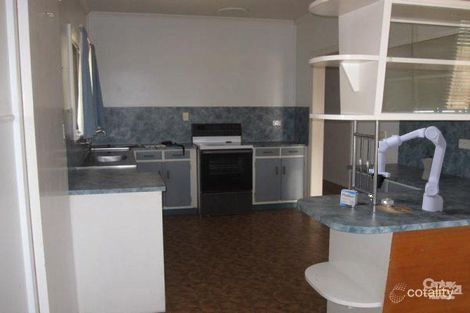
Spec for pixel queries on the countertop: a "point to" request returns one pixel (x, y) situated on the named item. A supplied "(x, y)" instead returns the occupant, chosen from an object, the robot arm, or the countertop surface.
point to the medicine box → (348, 198)
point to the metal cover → (387, 202)
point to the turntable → (395, 209)
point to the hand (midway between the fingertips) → (377, 188)
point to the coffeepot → (427, 167)
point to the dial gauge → (371, 199)
